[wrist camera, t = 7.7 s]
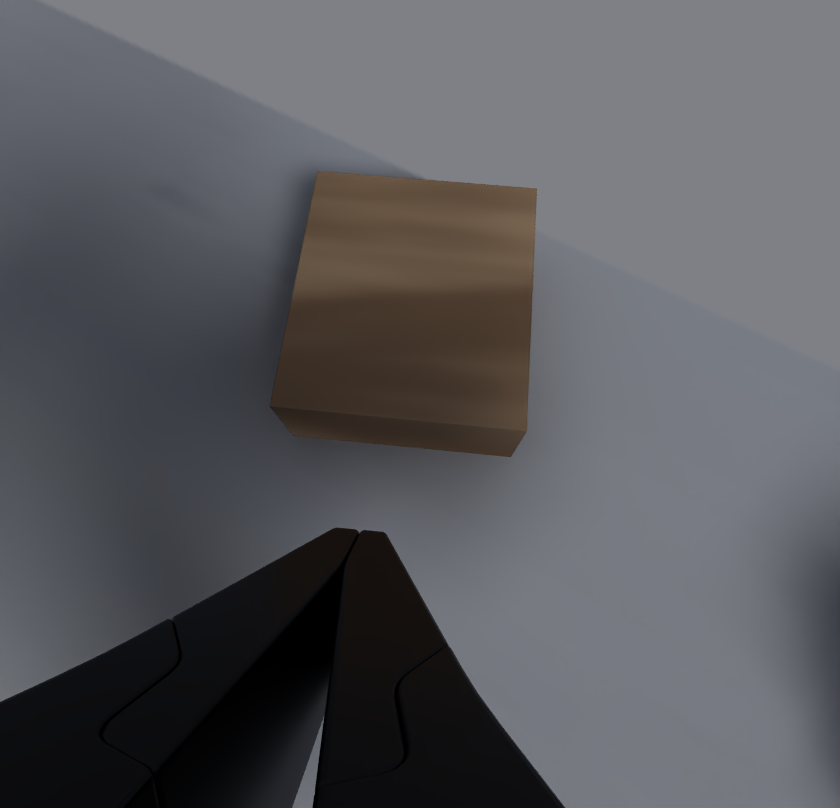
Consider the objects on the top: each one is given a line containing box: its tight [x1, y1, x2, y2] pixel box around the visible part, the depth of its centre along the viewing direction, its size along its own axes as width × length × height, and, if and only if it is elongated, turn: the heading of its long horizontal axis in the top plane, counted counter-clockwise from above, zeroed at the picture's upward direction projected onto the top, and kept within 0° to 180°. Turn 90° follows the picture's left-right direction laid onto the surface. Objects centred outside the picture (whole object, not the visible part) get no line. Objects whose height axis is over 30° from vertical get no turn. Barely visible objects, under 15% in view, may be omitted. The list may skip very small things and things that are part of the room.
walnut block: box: [270, 171, 537, 457], centre depth 18 cm, size 3×7×8 cm
